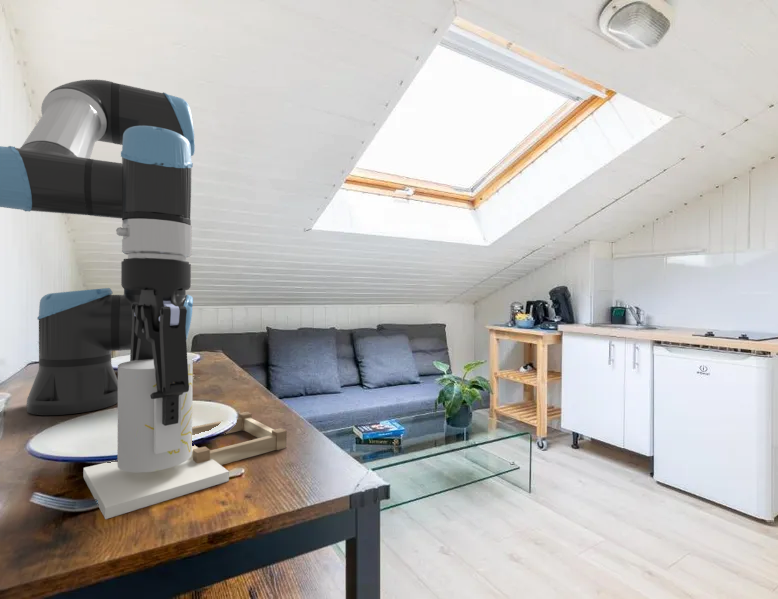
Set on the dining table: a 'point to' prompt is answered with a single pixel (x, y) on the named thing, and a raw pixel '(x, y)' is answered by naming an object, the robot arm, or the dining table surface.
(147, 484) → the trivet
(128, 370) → the cup
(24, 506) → the dining table surface
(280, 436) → the square wooden frame
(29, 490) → the dining table surface
